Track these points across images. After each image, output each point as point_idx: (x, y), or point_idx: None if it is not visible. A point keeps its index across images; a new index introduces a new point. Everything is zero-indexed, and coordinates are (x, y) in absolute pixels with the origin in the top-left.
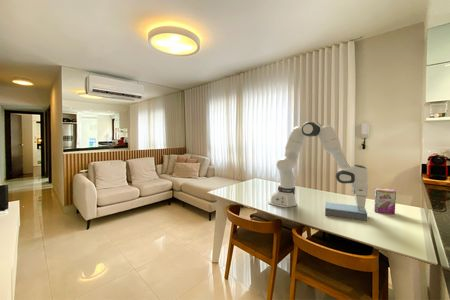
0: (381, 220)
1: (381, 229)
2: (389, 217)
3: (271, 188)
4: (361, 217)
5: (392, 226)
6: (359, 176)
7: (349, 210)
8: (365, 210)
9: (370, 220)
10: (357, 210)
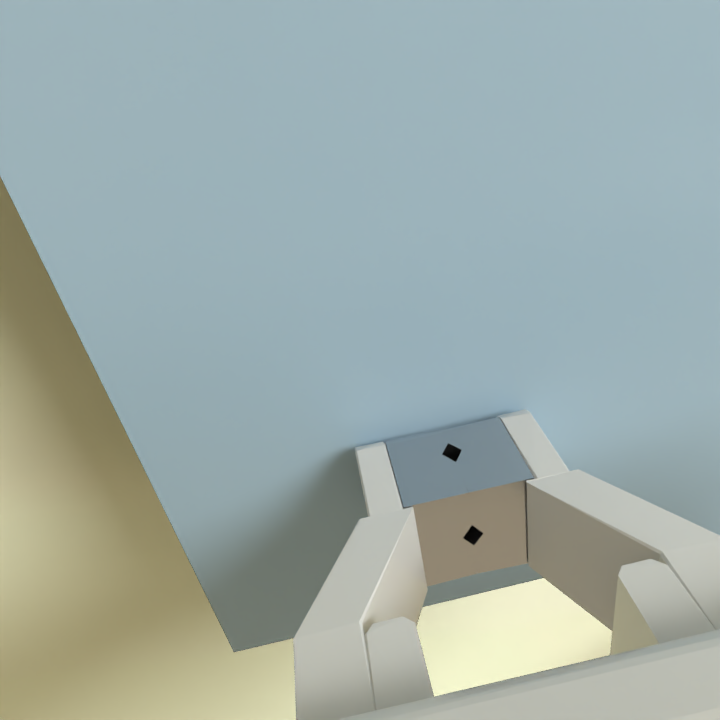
0: (454, 607)
1: (32, 656)
2: None
3: None
4: None
5: (284, 711)
6: None
7: (82, 174)
8: (468, 586)
9: None
10: (323, 436)
